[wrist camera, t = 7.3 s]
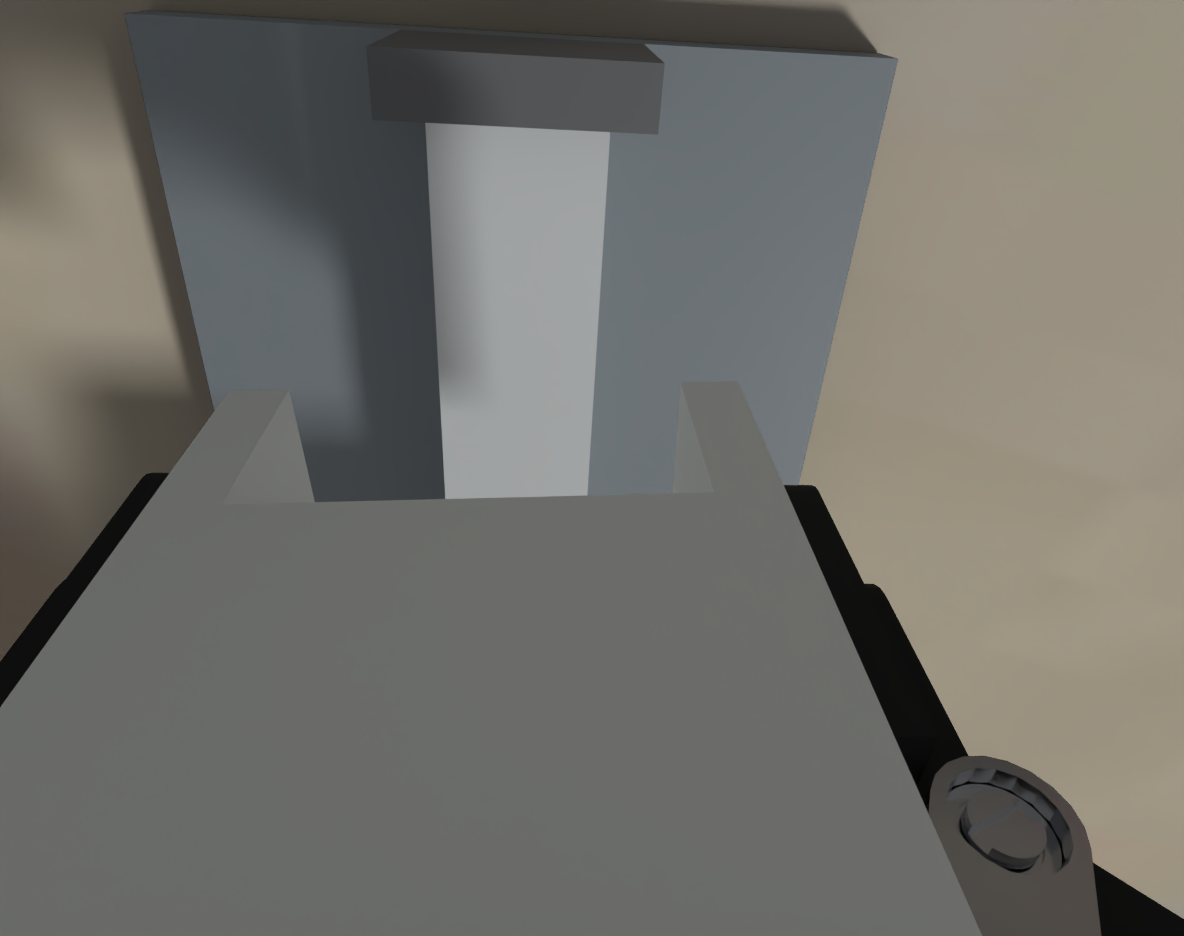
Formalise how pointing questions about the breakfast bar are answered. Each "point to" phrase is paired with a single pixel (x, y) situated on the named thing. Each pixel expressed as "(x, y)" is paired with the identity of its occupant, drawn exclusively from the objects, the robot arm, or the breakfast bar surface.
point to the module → (461, 715)
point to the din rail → (368, 249)
